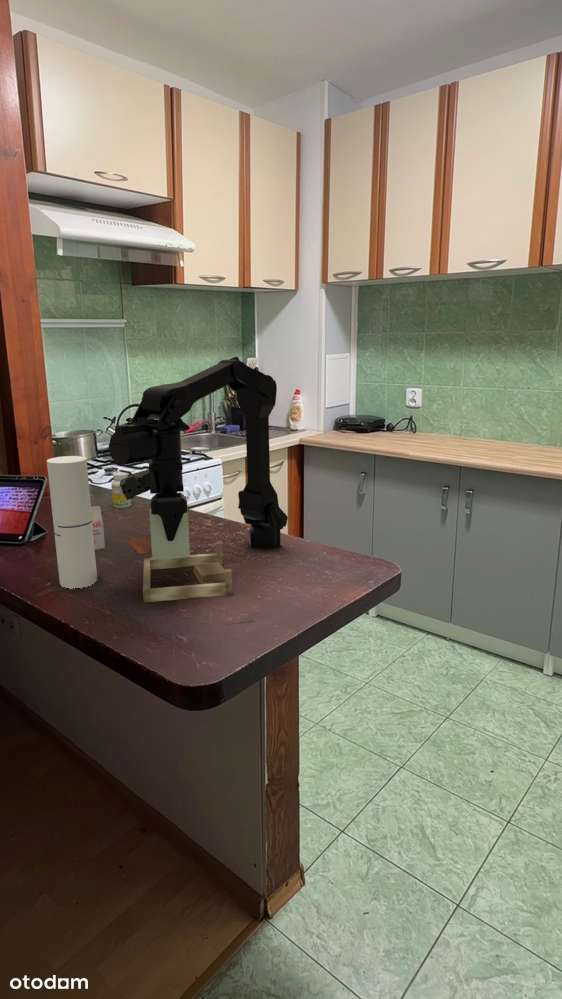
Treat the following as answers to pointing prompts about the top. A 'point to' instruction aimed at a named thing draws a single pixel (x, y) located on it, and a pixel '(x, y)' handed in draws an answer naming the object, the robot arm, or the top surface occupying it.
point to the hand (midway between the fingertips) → (170, 537)
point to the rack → (188, 590)
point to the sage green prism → (169, 548)
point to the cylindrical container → (72, 521)
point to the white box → (97, 528)
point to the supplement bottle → (119, 492)
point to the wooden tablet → (142, 543)
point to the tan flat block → (209, 573)
